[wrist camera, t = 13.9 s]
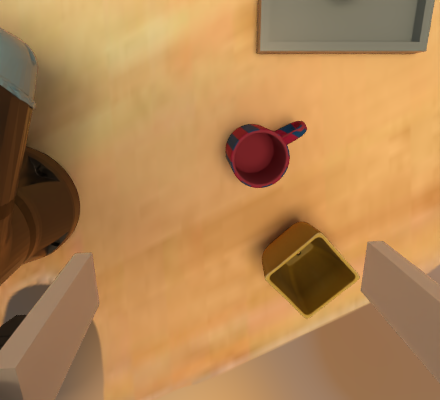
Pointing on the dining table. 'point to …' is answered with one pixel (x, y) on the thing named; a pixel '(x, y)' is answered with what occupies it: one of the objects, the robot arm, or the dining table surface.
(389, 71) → the dining table surface
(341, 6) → the tray
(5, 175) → the robot arm
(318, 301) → the flower pot
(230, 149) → the mug
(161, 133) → the dining table surface
